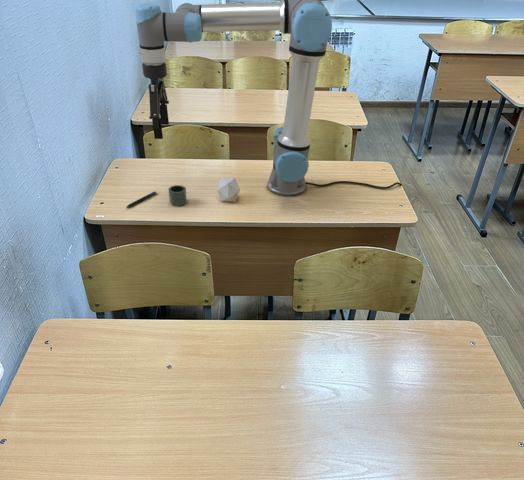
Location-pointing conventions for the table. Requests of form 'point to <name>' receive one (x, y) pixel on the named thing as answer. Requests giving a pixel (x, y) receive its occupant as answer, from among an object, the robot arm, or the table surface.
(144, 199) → the pen
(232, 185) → the die
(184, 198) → the cup
